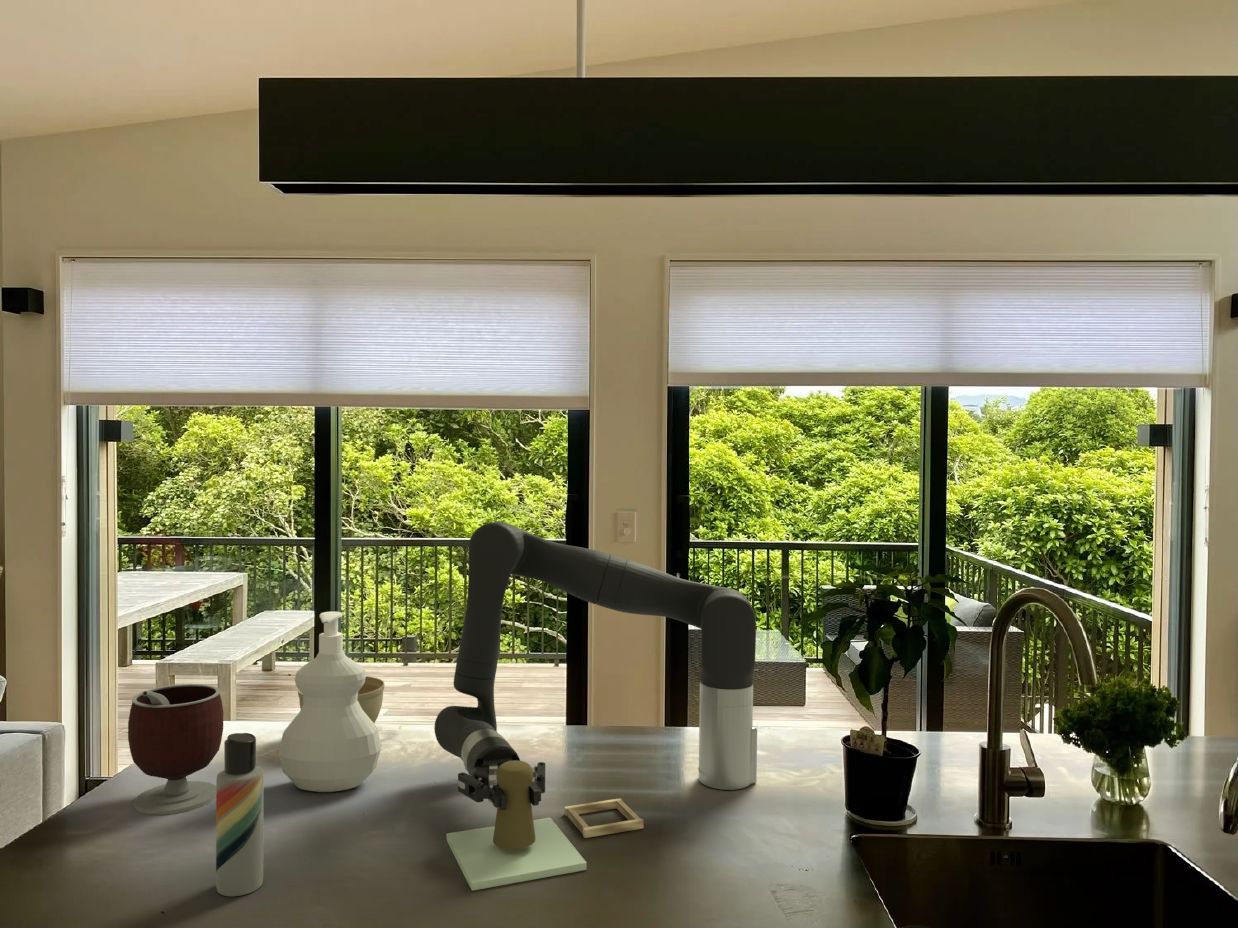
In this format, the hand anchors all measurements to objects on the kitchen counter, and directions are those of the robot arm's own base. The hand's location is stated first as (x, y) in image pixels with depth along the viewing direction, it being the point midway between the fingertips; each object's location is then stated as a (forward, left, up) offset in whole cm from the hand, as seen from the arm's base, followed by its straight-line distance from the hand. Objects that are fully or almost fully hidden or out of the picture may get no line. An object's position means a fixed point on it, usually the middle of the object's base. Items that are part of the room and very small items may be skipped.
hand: (520, 800), depth 125 cm
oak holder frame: (-16, -9, -9) cm, 20 cm away
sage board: (0, -3, -9) cm, 9 cm away
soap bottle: (+22, -39, -9) cm, 45 cm away
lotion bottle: (+36, -7, -9) cm, 38 cm away
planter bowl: (+18, -62, -9) cm, 65 cm away
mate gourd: (+46, -41, -9) cm, 62 cm away
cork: (0, -3, -7) cm, 7 cm away
